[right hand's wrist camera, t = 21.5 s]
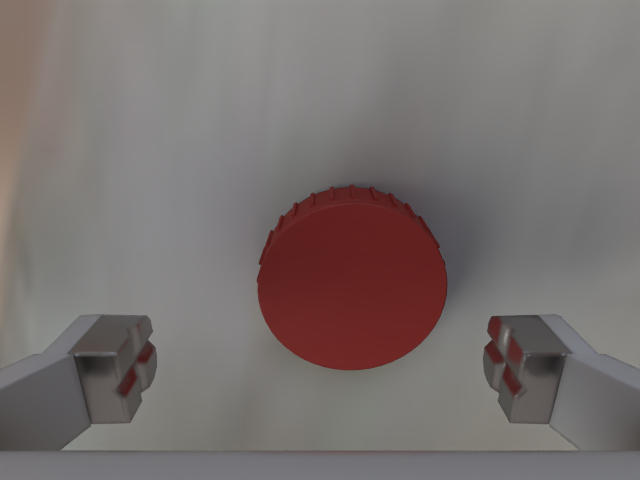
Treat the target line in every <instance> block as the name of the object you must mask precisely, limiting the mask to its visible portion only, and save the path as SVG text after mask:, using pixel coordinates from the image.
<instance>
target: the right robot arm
mask: <svg viewBox="0 0 640 480" xmlns="http://www.w3.org/2000/svg"><path fill="white" fill-rule="evenodd" d="M152 332H153V330H152V325H151V320H150V319H149V318H148V316H147V315H103V314H96V315H81V316H79V317H78V318H77V319H76V320H75V321H74V322H73V323H72V324H71V325H70V326H69V327H68V328H67V329H66V330H65V331H64V332H63V333H62V334H61V335H60V336H59V337H58V338H57V339H56V340H55V341H54V342H53V343H52V344H51V345H50V346H49V347H48V348H47V349H46V350H45V351H44V352H43V353H42V354H34V355H31V356H29V357H27V358H25V359H22V360H20V361H18V362H16V363H13V364H11V365H9V366H7V367H4V368H2V369H0V480H640V369H638V368H636V367H633V366H631V365H629V364H627V363H624V362H622V361H620V360H618V359H615V358H613V357H611V356H609V355H606V354H598V353H597V352H596V351H595V350H594V349H593V348H592V347H591V346H590V345H589V344H588V343H587V342H586V341H585V340H584V339H583V338H582V337H581V336H580V335H579V334H578V333H577V332H576V331H575V330H574V329H573V328H572V327H571V326H570V325H569V324H568V323H567V322H566V321H565V320H564V319H563V318H562V317H561V316H559V315H556V314H548V315H515V316H492V317H491V319H490V321H489V324H488V330H487V332H488V334H489V335H490V337H491V339H492V340H491V341H490V342H489V343H488V344H487V345H486V346H485V347H484V355H483V366H484V373H485V376H486V380H487V381H488V383H489V385H490V387H491V388H492V389H494V390H495V391H497V392H498V393H499V398H498V402H499V404H500V406H501V408H502V409H503V411H504V413H505V415H506V417H507V419H508V420H509V422H510V423H527V424H549V426H550V427H551V428H552V429H554V430H555V431H556V432H558V433H559V434H560V435H561V436H563V437H564V438H565V439H566V440H568V441H569V442H570V443H572V444H573V445H574V446H575V447H577V448H578V449H579V450H580V451H60V450H61V449H62V448H63V447H65V446H66V445H67V444H69V443H70V442H71V441H72V440H74V439H75V438H76V437H78V436H79V435H80V434H81V433H83V432H84V431H85V430H86V429H88V428H89V427H90V426H91V424H112V423H130V422H131V420H132V419H133V417H134V415H135V413H136V411H137V409H138V408H139V406H140V404H141V402H142V398H141V393H142V392H143V391H145V390H146V389H148V388H149V387H150V385H151V383H152V381H153V379H154V376H155V372H156V367H157V354H156V348H155V346H154V345H153V344H152V343H151V342H150V341H149V340H148V339H149V337H150V335H151V334H152Z"/></svg>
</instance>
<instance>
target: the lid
mask: <svg viewBox="0 0 640 480" xmlns="http://www.w3.org/2000/svg"><path fill="white" fill-rule="evenodd" d="M438 248H440V246H439V244H438V242H437V241H436V239H435V238H434V236H433V235H432V233H431V231H430V230H429V228H428V226H427V225H426V223H425V222H424V220H423V219H422V217H421V216H419V217H417V216H416V214H415V213H414V212H413V210H412V209H411V207H410V205H409V204H408V203H406V204H405V205H404V204H403V203H401V202H400V201H399V200H397V199H395V198H394V196H393V194H391V193H389V195H387V194H384V193H381V192H379V191H375V189H374V187H370V189H366V188H355V187H354V185H350V188H338V189H334V187H330V190H328V191H324V192H321V193H318V194H316V195H315V194H314V193H311V195H310V197H309V198H307V199H305V200H304V201H302V202H300V203H299V204H298V203H297V202H296V203H294V205H293V208H292V209H291V210H290V211H289V212H288V213H287V214H286V215H285V216H283V215H281V217H280V219H279V222H278V225H277V226H276V228H275V230H274V231H272V230H271V231H270V233H269V236H268V239H267V242H266V245H265V247H264V249H263V252H262V255H261V258H260V261H259V264H260V265H261V267H260V271H259V274H258V277H257V283H258V299H259V304H260V308H261V312H262V314H263V317H264V319H265V321H266V323H267V325H268V326H269V328H270V330H271V331H272V333H273V334H274V335H275V336H276V338H277V339H278V340H279V341H280V342H281V343H282V344H283V345H284V346H285V347H286V348H287V349H289V350H290V351H291V352H293V353H294V354H296V355H297V356H299V357H301V358H303V359H304V360H307V361H309V362H311V363H314V364H316V365H320V366H323V367H327V368H332V369H339V370H362V369H369V368H374V367H378V366H382V365H384V364H387V363H390V362H393V361H395V360H397V359H399V358H401V357H403V356H404V355H406V354H407V353H409V352H410V351H412V350H413V349H414V348H416V347H417V346H418V345H419V344H420V343H421V342H422V341H423V340H424V339H425V338H426V337H427V336H428V335H429V333H430V332H431V331H432V329H433V328H434V327H435V325H436V323H437V321H438V320H439V318H440V315H441V313H442V310H443V308H444V304H445V300H446V295H447V274H446V269H445V262H444V260H443V259H442V256H441V254H440V251H439V250H438Z"/></svg>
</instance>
